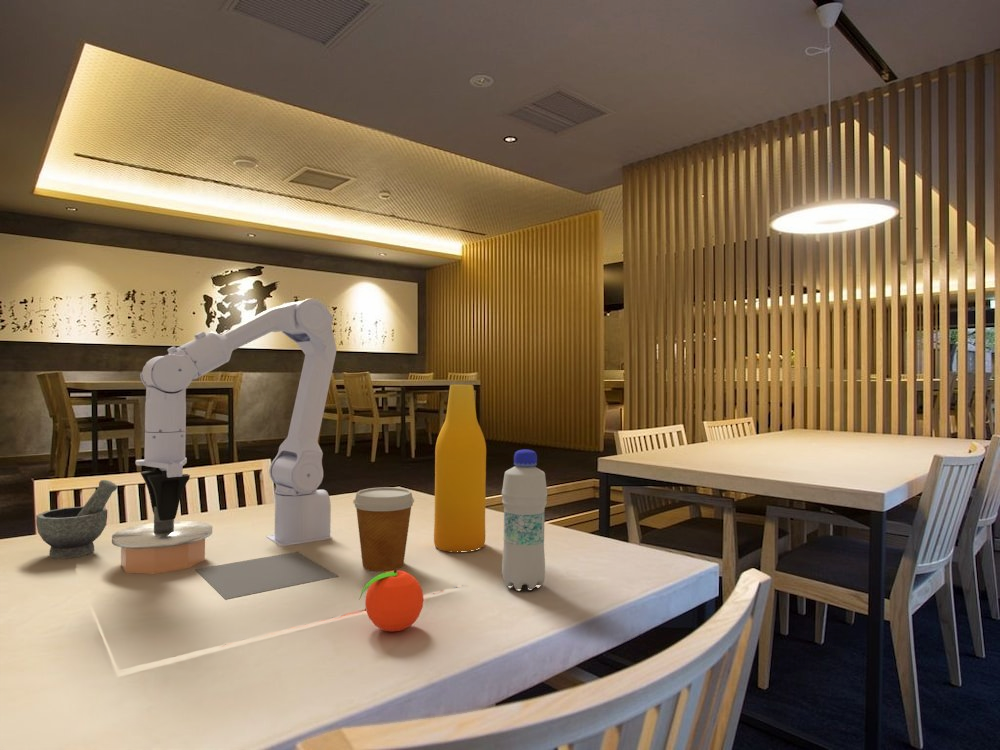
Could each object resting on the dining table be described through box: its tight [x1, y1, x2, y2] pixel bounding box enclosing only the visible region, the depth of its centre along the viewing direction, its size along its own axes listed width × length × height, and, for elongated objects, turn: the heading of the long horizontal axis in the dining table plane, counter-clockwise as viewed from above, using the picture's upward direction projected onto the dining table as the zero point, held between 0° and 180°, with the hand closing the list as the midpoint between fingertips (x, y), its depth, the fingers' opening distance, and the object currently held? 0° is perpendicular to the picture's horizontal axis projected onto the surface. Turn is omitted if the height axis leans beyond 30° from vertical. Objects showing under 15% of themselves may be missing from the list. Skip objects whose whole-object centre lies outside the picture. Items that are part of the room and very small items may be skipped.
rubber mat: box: [194, 551, 339, 601], centre depth 93 cm, size 16×16×1 cm
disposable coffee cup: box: [352, 486, 415, 572], centre depth 98 cm, size 10×10×12 cm
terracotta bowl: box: [120, 538, 206, 575], centre depth 98 cm, size 11×11×4 cm
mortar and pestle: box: [35, 479, 118, 559], centre depth 104 cm, size 11×9×12 cm
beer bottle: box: [433, 384, 487, 553], centre depth 111 cm, size 9×9×29 cm
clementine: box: [358, 569, 425, 632], centre depth 74 cm, size 8×7×7 cm
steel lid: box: [111, 506, 213, 549], centre depth 98 cm, size 14×14×5 cm
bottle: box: [501, 449, 548, 590], centre depth 90 cm, size 7×7×20 cm
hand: (164, 516), depth 98 cm, fingers open, 4 cm apart
